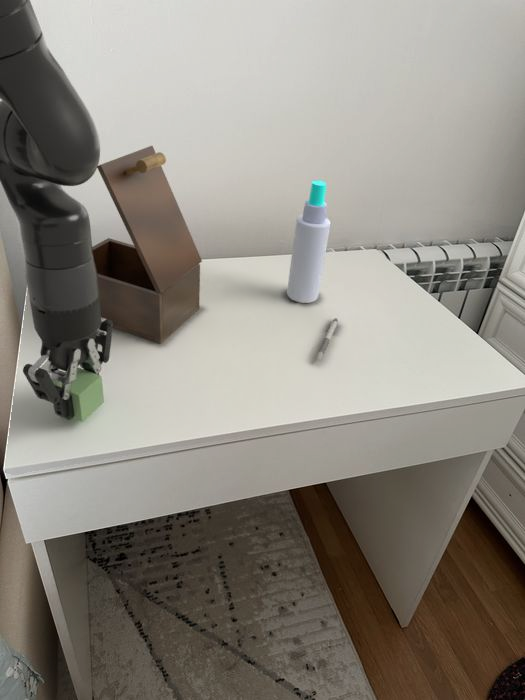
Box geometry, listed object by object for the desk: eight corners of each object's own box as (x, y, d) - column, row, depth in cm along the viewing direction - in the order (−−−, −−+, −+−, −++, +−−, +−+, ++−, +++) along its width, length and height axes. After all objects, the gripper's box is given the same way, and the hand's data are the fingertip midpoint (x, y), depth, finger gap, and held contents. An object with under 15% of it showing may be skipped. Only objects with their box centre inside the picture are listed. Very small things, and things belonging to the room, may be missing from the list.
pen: (338, 323, 96) (339, 316, 95) (319, 366, 85) (320, 358, 84) (332, 322, 96) (334, 315, 95) (313, 364, 85) (314, 357, 84)
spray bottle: (323, 296, 104) (343, 184, 91) (306, 307, 100) (324, 191, 87) (298, 285, 106) (314, 174, 94) (280, 295, 102) (294, 181, 90)
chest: (66, 311, 91) (59, 264, 86) (112, 281, 101) (108, 237, 96) (160, 344, 86) (159, 296, 81) (199, 308, 96) (200, 264, 91)
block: (82, 422, 68) (78, 395, 66) (53, 410, 70) (49, 383, 67) (104, 402, 72) (101, 375, 69) (76, 391, 73) (73, 365, 70)
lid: (96, 166, 73) (122, 155, 71) (148, 146, 83) (173, 136, 81) (157, 293, 81) (182, 288, 78) (198, 262, 91) (222, 256, 88)
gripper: (78, 260, 67) (90, 368, 77) (-11, 310, 56) (16, 428, 66) (128, 275, 65) (134, 384, 75) (46, 330, 54) (65, 449, 64)
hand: (79, 404), depth 70 cm, fingers closed on block, 4 cm apart
